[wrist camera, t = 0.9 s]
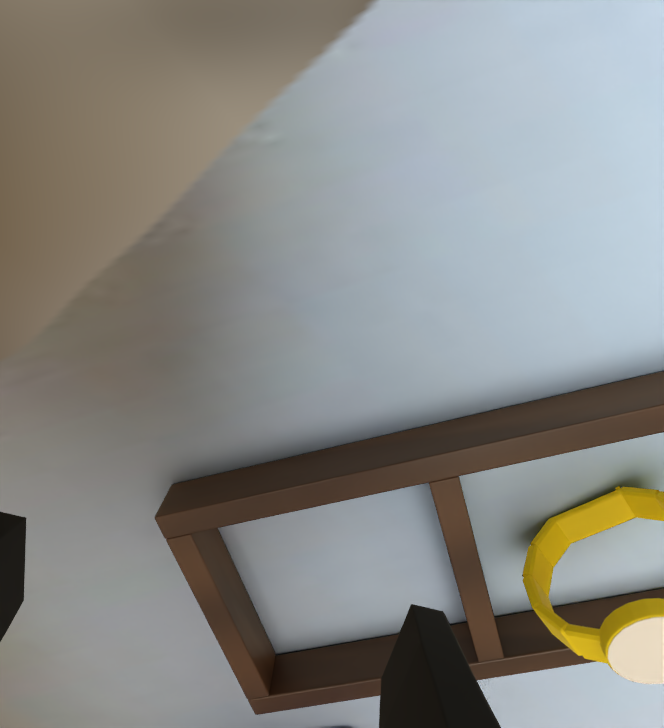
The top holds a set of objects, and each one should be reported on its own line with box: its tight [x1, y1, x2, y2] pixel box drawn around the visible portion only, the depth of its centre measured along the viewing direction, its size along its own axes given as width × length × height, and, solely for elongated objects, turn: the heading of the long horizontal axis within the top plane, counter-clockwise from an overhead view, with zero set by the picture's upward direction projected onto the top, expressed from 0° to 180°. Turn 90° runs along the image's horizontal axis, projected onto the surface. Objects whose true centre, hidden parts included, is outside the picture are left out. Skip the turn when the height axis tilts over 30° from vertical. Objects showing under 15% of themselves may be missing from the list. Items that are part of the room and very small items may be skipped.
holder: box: [155, 371, 664, 715], centre depth 21 cm, size 11×20×2 cm, turn 107°
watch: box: [522, 486, 664, 684], centre depth 19 cm, size 6×3×6 cm, turn 126°
